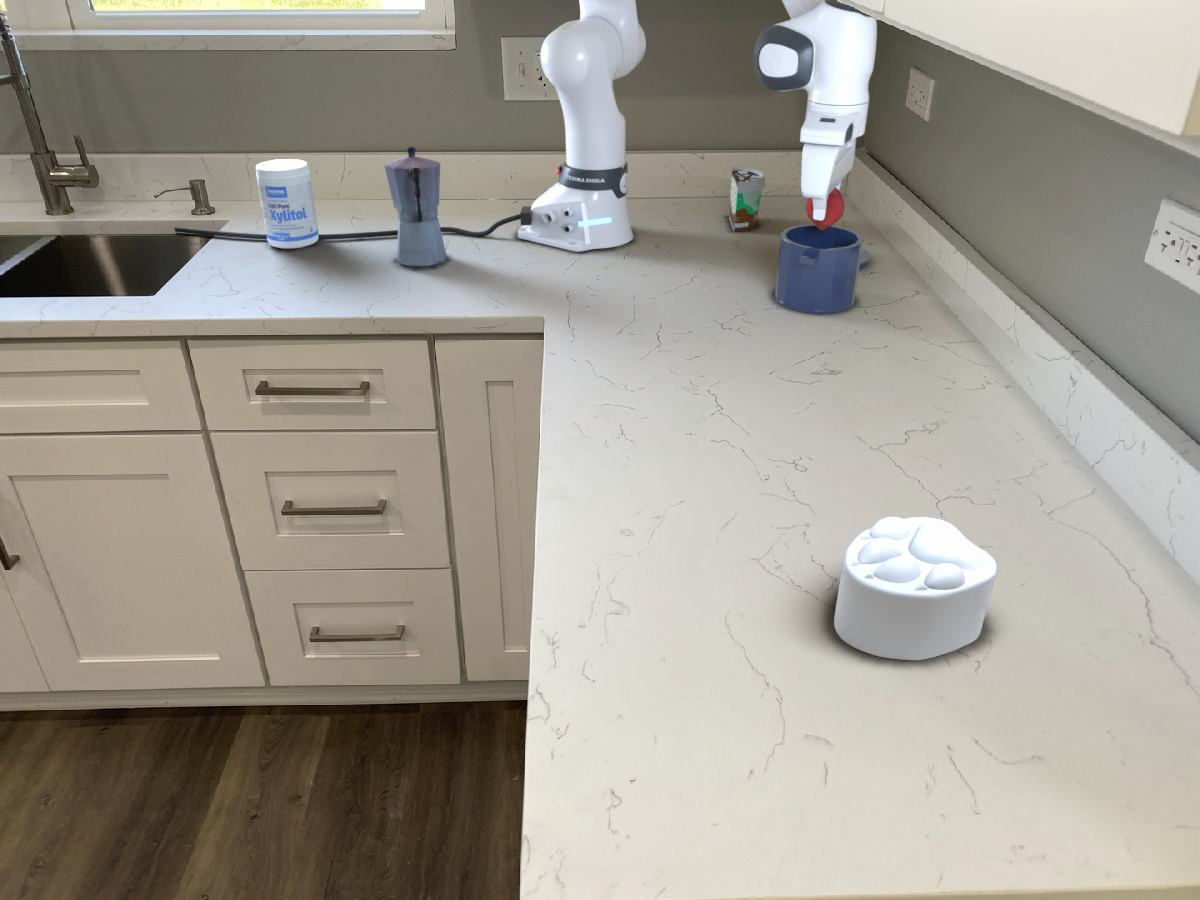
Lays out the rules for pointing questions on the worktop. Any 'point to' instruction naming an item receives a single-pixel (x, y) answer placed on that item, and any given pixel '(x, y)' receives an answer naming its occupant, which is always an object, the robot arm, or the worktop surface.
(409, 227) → the moka pot
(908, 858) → the worktop surface
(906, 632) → the lumpy-topped squat cylinder
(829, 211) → the onion
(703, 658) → the worktop surface
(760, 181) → the food container
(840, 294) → the pot
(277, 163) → the supplement tub
